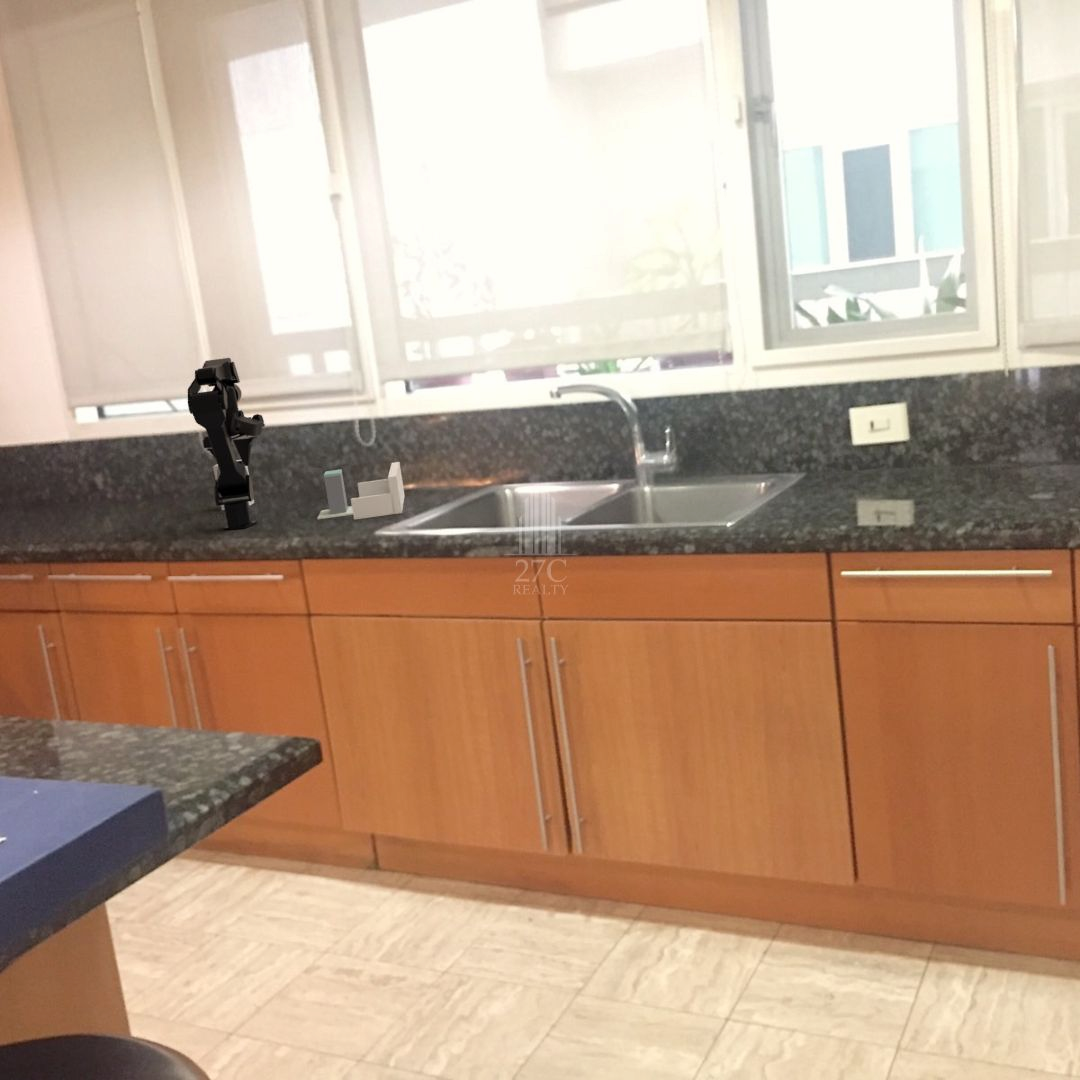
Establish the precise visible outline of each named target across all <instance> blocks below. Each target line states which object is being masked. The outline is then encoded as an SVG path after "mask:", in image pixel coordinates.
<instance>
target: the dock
mask: <svg viewBox="0 0 1080 1080" xmlns="http://www.w3.org/2000/svg"><path fill="white" fill-rule="evenodd" d="M357 489H358V497H352V498H350V503H351V506H352V510H353V520H362V519H368V518H377V517H383V516H389V515H397V514H403V508H404V503H405V490H404V482H403V476H402V470H401V463H400V461H395V462H391V464H390V468H389V472H388V476H387V478H384V479H376V480H371V481H363V482H362V481H361V482H358V483H357Z"/></svg>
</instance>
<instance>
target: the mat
mask: <svg viewBox="0 0 1080 1080" xmlns="http://www.w3.org/2000/svg"><path fill="white" fill-rule="evenodd" d="M352 515H353V510H352V505H350V506H348V509H347V512H345V513H338V514H331V515H330V510H329V509H322V510H320V512H319V513H318V516H317V518H316V519H317V520H325V519H331V518H337V517H338V518H339V517H346V516H352Z"/></svg>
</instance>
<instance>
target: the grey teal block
mask: <svg viewBox="0 0 1080 1080" xmlns="http://www.w3.org/2000/svg"><path fill="white" fill-rule="evenodd" d="M323 478H324V485H325V490H326V496H327V503H328V504H327V505H328V508H329V510H330V515H331V514H338V513H345V512H347V509H348V507H349V506H348V501H347V499H348V498H347V494H346V493H347V492H346V487H345V482H344V481H345V480H344V476H343V469H335V470H327V471H325V472H324V474H323Z"/></svg>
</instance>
